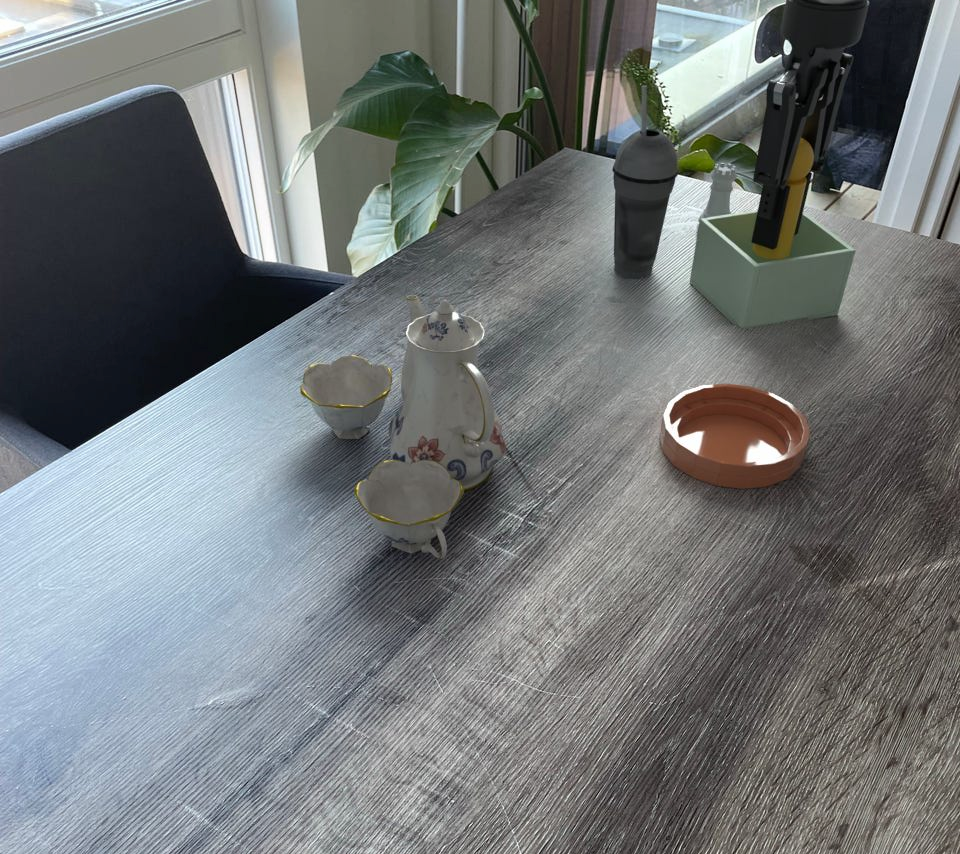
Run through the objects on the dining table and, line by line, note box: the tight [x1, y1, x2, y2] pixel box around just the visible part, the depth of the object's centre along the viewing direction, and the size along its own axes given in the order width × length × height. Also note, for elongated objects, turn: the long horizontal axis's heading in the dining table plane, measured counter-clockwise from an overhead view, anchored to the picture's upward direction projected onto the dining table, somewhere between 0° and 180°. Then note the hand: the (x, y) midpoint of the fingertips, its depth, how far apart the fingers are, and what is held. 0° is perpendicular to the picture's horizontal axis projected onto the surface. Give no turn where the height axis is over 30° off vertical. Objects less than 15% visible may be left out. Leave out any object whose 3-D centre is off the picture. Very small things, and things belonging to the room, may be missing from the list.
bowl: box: [659, 383, 811, 490], centre depth 96 cm, size 13×13×3 cm
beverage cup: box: [612, 84, 679, 279], centre depth 115 cm, size 7×7×20 cm
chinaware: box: [299, 294, 507, 560], centre depth 88 cm, size 28×17×17 cm, turn 27°
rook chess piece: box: [696, 162, 738, 231], centre depth 127 cm, size 4×4×8 cm
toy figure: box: [753, 138, 814, 260], centre depth 110 cm, size 4×4×12 cm
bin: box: [689, 209, 856, 329], centre depth 115 cm, size 12×12×8 cm
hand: (774, 237), depth 113 cm, fingers closed on toy figure, 4 cm apart
